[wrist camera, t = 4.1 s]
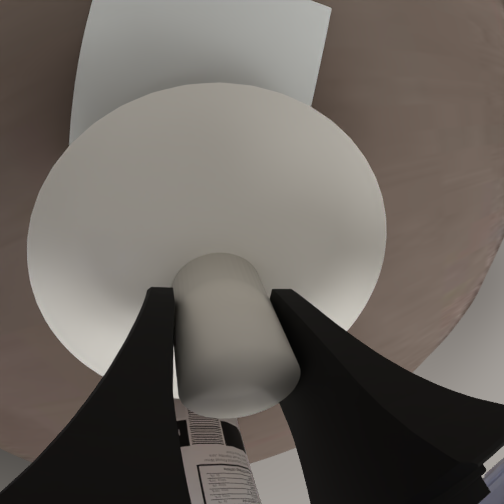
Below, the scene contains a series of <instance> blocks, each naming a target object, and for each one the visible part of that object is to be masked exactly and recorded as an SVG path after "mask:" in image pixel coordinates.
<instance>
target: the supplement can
mask: <svg viewBox="0 0 504 504" xmlns="http://www.w3.org/2000/svg"><path fill="white" fill-rule="evenodd" d="M174 405H175V413H176V421H177V428H178V435H179V441H180V447H181V453H182V459H183V464H184V470H185V475H186V480H187V485H188V490H189V494H190V499H191V503H192V504H261V501H260V498H259V494H258V491H257V488H256V484H255V481H254V478H253V474H252V471H251V468H250V464H249V461H248V457H247V454H246V450H245V447H244V443H243V439H242V436H241V432H240V429H239V425H238V421H237V418H227V419H221V418H210V417H205V416H202V415H199V414H196V413H194V412H192V411H190V410H189V409H187V408H186V407H185V406H184V405H183V404H182V403H181V401H180V399H177V398H174Z"/></svg>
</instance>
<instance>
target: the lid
mask: <svg viewBox="0 0 504 504" xmlns="http://www.w3.org/2000/svg"><path fill="white" fill-rule="evenodd" d="M385 246H386V215H385V209H384V203H383V198H382V194H381V191H380V188H379V186H378V183H377V180H376V177H375V175H374V173H373V171H372V169H371V167H370V166H369V164H368V162H367V160H366V158H365V157H364V155H363V154H362V153H361V151H360V150H359V149H358V147H357V146H356V145H355V143H354V142H353V141H352V140H351V138H350V137H349V136H348V135H346V134H345V133H344V132H343V131H342V130H341V129H340V128H339V127H338V126H337V125H336V124H335V123H334V122H333V121H331V120H330V119H328V118H327V117H325V116H324V115H323V114H321V113H320V112H318V111H317V110H315V109H314V108H312V107H310V106H309V105H307V104H304V103H302V102H300V101H298V100H296V99H294V98H291V97H289V96H287V95H285V94H282V93H278V92H275V91H271V90H268V89H264V88H260V87H256V86H252V85H243V84H233V83H221V82H218V83H201V84H188V85H182V86H178V87H173V88H169V89H165V90H161V91H157V92H153V93H150V94H148V95H145V96H143V97H140V98H138V99H136V100H133V101H131V102H129V103H126V104H124V105H122V106H120V107H118V108H117V109H115V110H114V111H112V112H110V113H109V114H107V115H106V116H104V117H103V118H101V119H99V120H98V121H96V122H95V123H94V124H92V125H91V126H90V127H89V128H88V129H87V130H86V131H84V132H83V133H82V134H81V135H80V136H79V137H78V138H77V139H76V140H75V141H73V142H72V143H71V144H70V146H69V147H68V148H67V149H66V151H65V152H64V153H63V154H62V156H61V157H60V158H59V159H58V161H57V162H56V163H55V165H54V166H53V167H52V169H51V171H50V173H49V174H48V176H47V178H46V180H45V182H44V184H43V186H42V187H41V189H40V191H39V194H38V197H37V200H36V203H35V206H34V208H33V212H32V215H31V219H30V225H29V231H28V238H27V264H28V271H29V277H30V283H31V286H32V289H33V293H34V296H35V299H36V302H37V304H38V306H39V308H40V311H41V313H42V315H43V317H44V319H45V321H46V322H47V324H48V325H49V327H50V328H51V330H52V331H53V333H54V334H55V335H56V337H57V338H58V339H59V340H60V342H61V343H62V344H63V345H64V346H65V347H66V348H67V349H68V350H69V351H70V352H71V353H72V354H73V355H74V356H75V357H76V358H77V359H79V360H80V361H81V362H82V363H83V364H85V365H86V366H88V367H89V368H91V369H92V370H93V371H95V372H96V373H98V374H100V375H101V376H104V375H105V373H106V372H107V370H108V368H109V367H110V365H111V364H112V362H113V360H114V359H115V357H116V355H117V353H118V352H119V350H120V348H121V347H122V345H123V343H124V342H125V340H126V338H127V336H128V334H129V332H130V330H131V328H132V326H133V324H134V322H135V320H136V318H137V316H138V314H139V312H140V309H141V307H142V305H143V302H144V299H145V296H146V292H147V290H148V289H149V288H150V287H172V288H173V290H174V299H175V313H174V357H173V397H174V398H177V399H180V401H181V403H182V404H183V405H184V406H185V407H186V408H187V409H189V410H190V411H192V412H194V413H196V414H199V415H202V416H205V417H210V418H221V419H227V418H238V417H244V416H248V415H252V414H256V413H259V412H261V411H264V410H266V409H268V408H270V407H272V406H274V405H276V404H277V403H279V402H280V401H282V400H283V399H284V398H286V397H287V396H288V395H289V394H290V393H291V392H292V391H293V390H294V388H295V387H296V385H297V383H298V381H299V379H300V367H299V364H298V362H297V359H296V357H295V355H294V353H293V350H292V348H291V346H290V344H289V342H288V339H287V337H286V335H285V333H284V330H283V328H282V326H281V324H280V321H279V319H278V317H277V315H276V312H275V310H274V308H273V306H272V303H271V301H270V295H271V291H272V289H292V290H294V291H295V292H297V293H298V294H299V295H301V296H302V297H303V298H305V299H306V300H307V301H308V302H310V303H311V304H312V305H313V306H315V307H316V308H317V309H319V310H320V311H321V312H322V313H324V314H325V315H326V316H327V317H329V318H330V319H331V320H332V321H334V322H335V323H336V324H338V325H339V326H340V327H341V328H343V329H344V330H345V331H347V330H348V329H349V328H350V327H351V325H352V324H353V323H354V322H355V320H356V319H357V318H358V316H359V315H360V313H361V312H362V310H363V309H364V307H365V305H366V304H367V302H368V300H369V298H370V296H371V294H372V292H373V290H374V287H375V285H376V282H377V280H378V277H379V274H380V271H381V267H382V263H383V259H384V254H385Z"/></svg>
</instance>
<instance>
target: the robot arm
mask: <svg viewBox="0 0 504 504" xmlns="http://www.w3.org/2000/svg"><path fill="white" fill-rule="evenodd" d="M270 301H271V303H272V306H273V308H274V310H275V312H276V315H277V317H278V319H279V321H280V324H281V326H282V328H283V330H284V333H285V335H286V337H287V339H288V342H289V344H290V346H291V348H292V350H293V353H294V355H295V357H296V359H297V362H298V364H299V367H300V379H299V381H298V383H297V385H296V387H295V388H294V390H293V391H292V392H291V393H290V394H289V395H288V396H287V397H286V398H284V399H283V400H282V401H280V402H279V403H280V406H281V408H282V410H283V413H284V415H285V418H286V420H287V422H288V425H289V427H290V430H291V433H292V436H293V438H294V441H295V445H296V448H297V452H298V455H299V459H300V462H301V466H302V470H303V474H304V478H305V481H306V486H307V489H308V494H309V499H310V503H311V504H504V458H503V459H502V460H501V461H499V462H498V463H497V464H496V465H495V466H494V467H493V468H492V469H490V470H489V471H488V472H487V473H486V474H485V477H484V478H483V479H482V477H481V475H483V474H484V473H485V472H486V468H485V467H484V465H483V463H484V462H485V461H487V460H488V459H489V458H490V457H491V456H493V455H494V454H495V453H496V452H497V451H498V450H499V449H500V448H501V447H503V446H504V405H503V404H498V403H494V402H490V401H486V400H481V399H477V398H473V397H470V396H467V395H464V394H461V393H458V392H455V391H452V390H449V389H447V388H444V387H442V386H439V385H437V384H435V383H432V382H430V381H428V380H426V379H424V378H422V377H419V376H417V375H415V374H413V373H411V372H409V371H407V370H406V369H404V368H402V367H400V366H399V365H397V364H395V363H393V362H392V361H390V360H388V359H386V358H385V357H383V356H382V355H380V354H378V353H377V352H375V351H374V350H372V349H371V348H369V347H368V346H366V345H365V344H364V343H362V342H361V341H359V340H358V339H356V338H355V337H354V336H352V335H351V334H349V333H348V332H347V331H345V330H344V329H343V328H341V327H340V326H339V325H338V324H336V323H335V322H334V321H332V320H331V319H330V318H329V317H327V316H326V315H325V314H324V313H322V312H321V311H320V310H319V309H317V308H316V307H315V306H313V305H312V304H311V303H310V302H308V301H307V300H306V299H305V298H303V297H302V296H301V295H299V294H298V293H297V292H295V291H294V290H292V289H272V291H271V295H270ZM174 313H175V299H174V290H173V288H172V287H150V288H149V289H148V290H147V292H146V296H145V299H144V302H143V305H142V307H141V309H140V312H139V314H138V316H137V318H136V320H135V322H134V324H133V326H132V328H131V330H130V332H129V334H128V336H127V338H126V340H125V342H124V343H123V345H122V347H121V348H120V350H119V352H118V353H117V355H116V357H115V359H114V360H113V362H112V364H111V365H110V367H109V368H108V370H107V372H106V373H105V375H104V376H103V378H102V379H101V381H100V382H99V383H98V385H97V386H96V388H95V389H94V391H93V392H92V393H91V395H90V396H89V398H88V399H87V400H86V401H85V403H84V404H83V405H82V407H81V408H80V409H79V410H78V412H77V413H76V414H75V416H74V417H73V418H72V419H71V421H70V422H69V423H68V424H67V425H66V427H65V428H64V429H63V430H62V431H61V432H60V433H59V435H58V436H57V437H56V438H55V439H54V440H53V441H52V442H51V443H50V444H49V445H48V447H47V448H46V449H45V450H44V451H43V452H42V453H41V454H40V455H39V456H38V457H37V459H36V460H35V461H34V462H33V463H32V464H31V465H30V466H28V467H27V468H26V469H25V470H24V471H23V472H22V473H21V474H20V475H19V476H18V477H17V478H15V479H14V481H12V482H11V483H10V484H9V485H8V486H7V487H6V488H5V489H3V490H2V491H1V492H0V504H192V503H191V499H190V494H189V490H188V485H187V480H186V475H185V470H184V464H183V459H182V453H181V447H180V441H179V435H178V428H177V421H176V413H175V405H174V397H173V357H174Z"/></svg>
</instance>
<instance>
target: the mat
mask: <svg viewBox="0 0 504 504" xmlns="http://www.w3.org/2000/svg"><path fill="white" fill-rule="evenodd" d="M331 9H332V8H330V7H327V6H325V5H322V4H319V3H317V2H314V1H311V0H93V1H92V4H91V8H90V12H89V16H88V20H87V24H86V28H85V32H84V36H83V41H82V46H81V51H80V56H79V62H78V67H77V73H76V80H75V87H74V95H73V103H72V112H71V123H70V137H69V146H70V144H71V143H72V142H73V141H75V140H76V139H77V138H78V137H79V136H80V135H81V134H82V133H83V132H84V131H86V130H87V129H88V128H89V127H90V126H91V125H92V124H94V123H95V122H96V121H98V120H99V119H101V118H103V117H104V116H106V115H107V114H109V113H110V112H112V111H114V110H115V109H117V108H118V107H120V106H122V105H124V104H126V103H129V102H131V101H133V100H136V99H138V98H140V97H143V96H145V95H148V94H150V93H153V92H157V91H161V90H165V89H169V88H173V87H178V86H182V85H188V84H201V83H218V82H221V83H233V84H243V85H252V86H256V87H260V88H264V89H268V90H271V91H275V92H278V93H282V94H285V95H287V96H289V97H291V98H294V99H296V100H298V101H300V102H302V103H304V104H307V105H309V106H310V107H311V104H312V100H313V95H314V91H315V86H316V81H317V77H318V72H319V67H320V63H321V58H322V53H323V48H324V43H325V39H326V34H327V29H328V24H329V19H330V14H331Z"/></svg>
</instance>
